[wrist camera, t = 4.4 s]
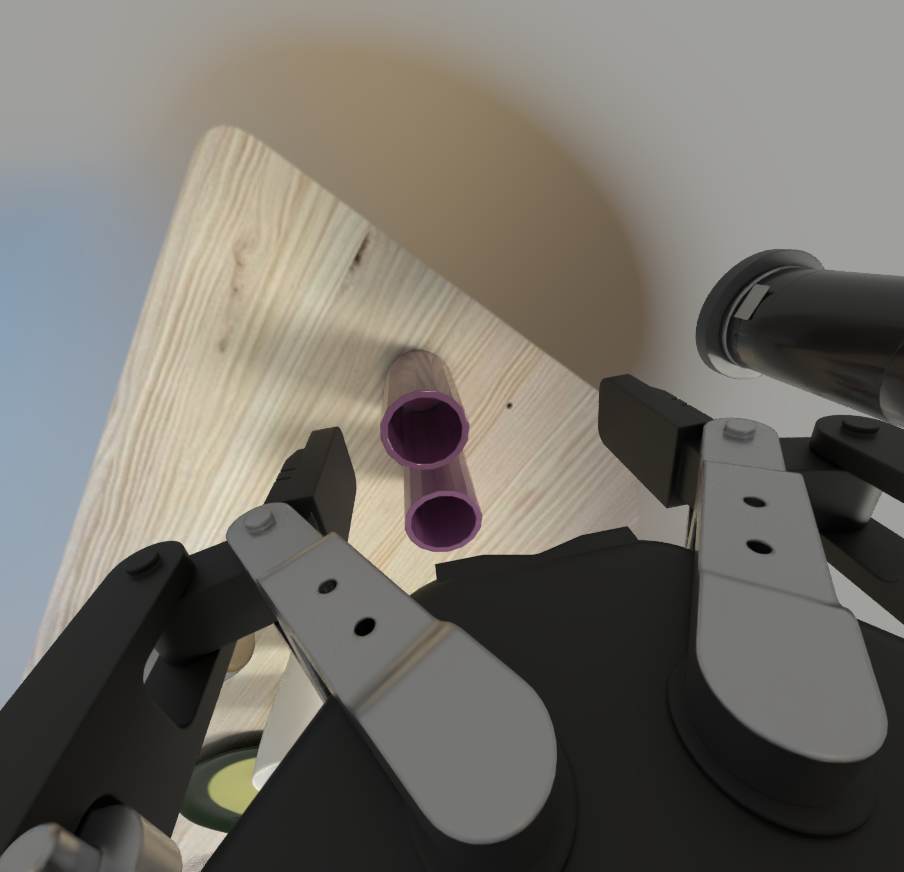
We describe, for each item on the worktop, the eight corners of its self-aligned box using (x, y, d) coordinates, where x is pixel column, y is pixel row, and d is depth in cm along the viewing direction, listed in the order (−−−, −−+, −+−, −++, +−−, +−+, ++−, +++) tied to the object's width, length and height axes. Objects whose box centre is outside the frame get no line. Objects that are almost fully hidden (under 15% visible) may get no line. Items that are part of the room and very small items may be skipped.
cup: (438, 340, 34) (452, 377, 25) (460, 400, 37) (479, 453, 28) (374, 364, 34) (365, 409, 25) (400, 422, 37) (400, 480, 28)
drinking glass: (286, 645, 49) (244, 798, 36) (297, 609, 46) (256, 759, 33) (340, 652, 51) (319, 799, 37) (353, 617, 48) (336, 763, 35)
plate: (388, 738, 61) (388, 756, 59) (336, 820, 72) (334, 838, 70) (193, 719, 53) (185, 739, 51) (167, 814, 64) (159, 835, 62)
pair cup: (452, 422, 38) (468, 480, 29) (470, 471, 40) (490, 537, 32) (394, 443, 38) (392, 506, 29) (416, 490, 41) (421, 561, 32)
